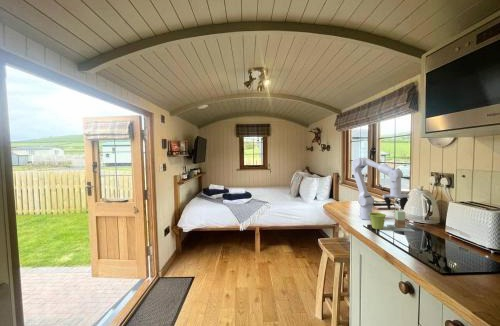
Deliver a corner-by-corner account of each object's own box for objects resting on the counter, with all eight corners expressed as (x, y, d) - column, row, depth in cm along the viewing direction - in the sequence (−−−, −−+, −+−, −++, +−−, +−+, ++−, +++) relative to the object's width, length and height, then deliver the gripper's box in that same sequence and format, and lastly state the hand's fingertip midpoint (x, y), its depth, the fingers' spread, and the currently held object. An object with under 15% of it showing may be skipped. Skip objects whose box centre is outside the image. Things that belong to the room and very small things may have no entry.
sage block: (394, 218, 138) (394, 210, 138) (402, 218, 137) (402, 210, 137) (397, 220, 134) (397, 211, 134) (405, 220, 134) (405, 212, 133)
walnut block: (394, 226, 139) (394, 218, 138) (402, 226, 138) (401, 218, 138) (397, 228, 135) (397, 220, 134) (405, 228, 134) (405, 220, 134)
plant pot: (365, 227, 140) (365, 213, 140) (375, 225, 144) (375, 211, 144) (379, 231, 132) (379, 217, 131) (389, 229, 136) (389, 215, 135)
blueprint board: (386, 225, 143) (386, 224, 142) (405, 226, 140) (405, 225, 140) (394, 231, 132) (394, 229, 132) (414, 231, 130) (414, 230, 129)
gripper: (385, 189, 139) (385, 210, 139) (411, 189, 136) (411, 211, 136) (381, 187, 146) (381, 208, 146) (405, 187, 143) (406, 208, 143)
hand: (395, 209), depth 142 cm, fingers open, 7 cm apart
